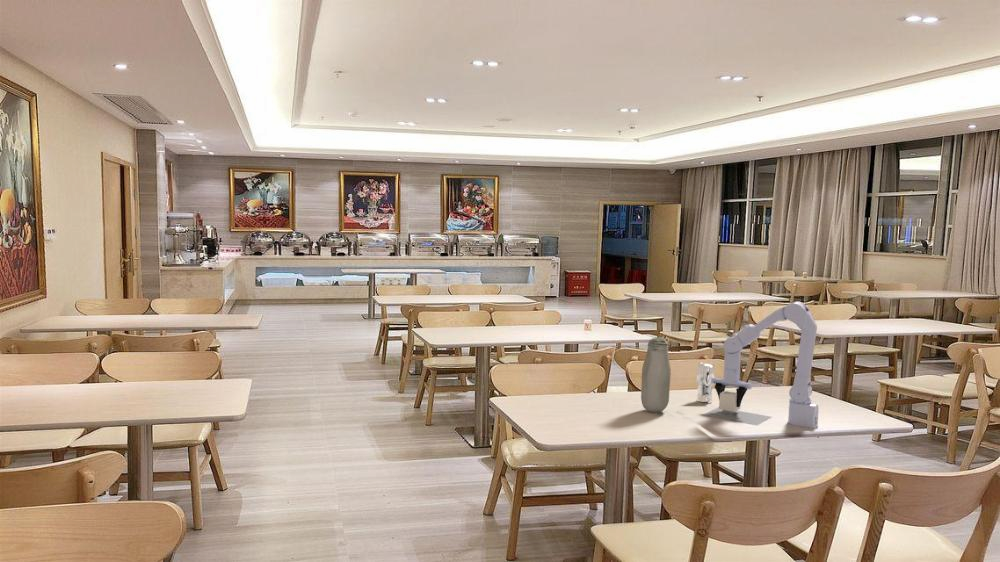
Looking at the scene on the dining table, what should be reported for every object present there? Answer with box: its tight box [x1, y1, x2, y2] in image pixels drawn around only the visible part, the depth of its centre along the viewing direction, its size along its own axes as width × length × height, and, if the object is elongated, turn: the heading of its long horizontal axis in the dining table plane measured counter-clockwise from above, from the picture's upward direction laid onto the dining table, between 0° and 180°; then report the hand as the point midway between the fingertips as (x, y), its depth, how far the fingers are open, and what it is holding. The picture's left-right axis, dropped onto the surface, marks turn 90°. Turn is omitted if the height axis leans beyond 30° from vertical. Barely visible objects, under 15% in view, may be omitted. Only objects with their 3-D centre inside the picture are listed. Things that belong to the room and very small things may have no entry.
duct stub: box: [723, 410, 736, 414], centre depth 270 cm, size 4×4×5 cm
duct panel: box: [702, 406, 772, 426], centre depth 266 cm, size 20×16×1 cm
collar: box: [718, 390, 741, 412], centre depth 270 cm, size 6×6×6 cm
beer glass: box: [696, 362, 716, 403], centre depth 292 cm, size 7×7×15 cm
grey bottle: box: [640, 336, 672, 413], centre depth 272 cm, size 10×10×28 cm
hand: (729, 405), depth 270 cm, fingers closed on collar, 6 cm apart
